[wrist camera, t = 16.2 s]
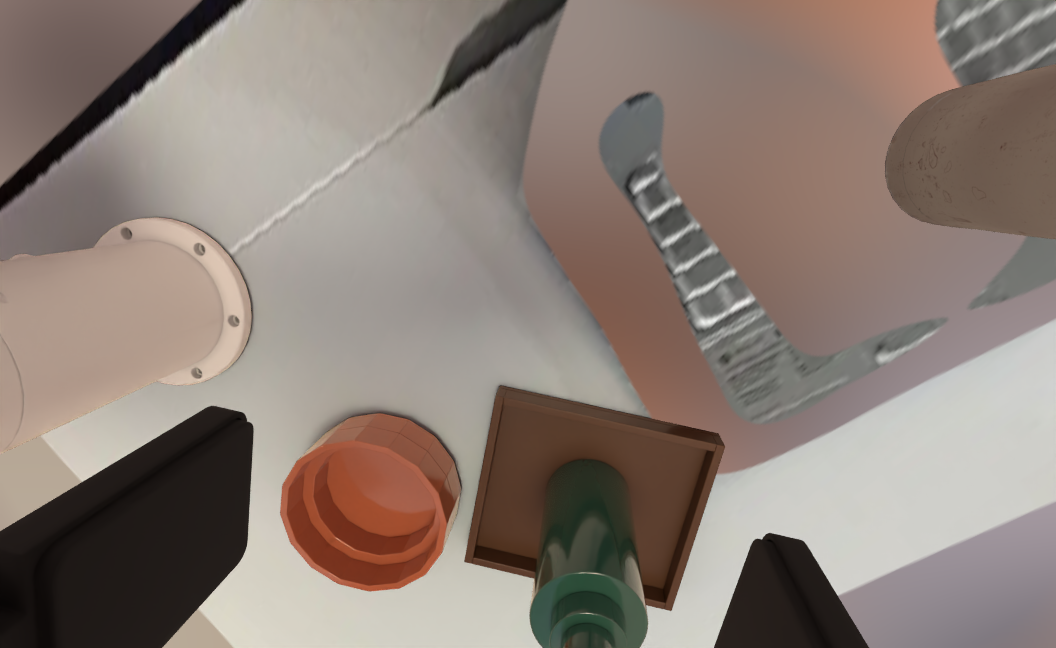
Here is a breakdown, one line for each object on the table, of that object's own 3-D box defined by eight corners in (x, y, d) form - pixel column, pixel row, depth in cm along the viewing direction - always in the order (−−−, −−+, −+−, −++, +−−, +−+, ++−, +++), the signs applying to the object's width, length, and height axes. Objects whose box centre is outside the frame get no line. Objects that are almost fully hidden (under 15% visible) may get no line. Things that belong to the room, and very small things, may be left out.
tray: (469, 545, 43) (464, 562, 41) (500, 385, 40) (495, 395, 38) (667, 592, 43) (671, 611, 41) (718, 433, 39) (725, 446, 37)
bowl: (309, 527, 45) (275, 569, 40) (321, 396, 41) (286, 424, 36) (449, 560, 44) (432, 607, 39) (472, 430, 41) (457, 463, 36)
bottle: (537, 522, 42) (506, 743, 25) (554, 450, 40) (532, 637, 24) (619, 541, 41) (641, 777, 25) (639, 469, 40) (677, 672, 23)
